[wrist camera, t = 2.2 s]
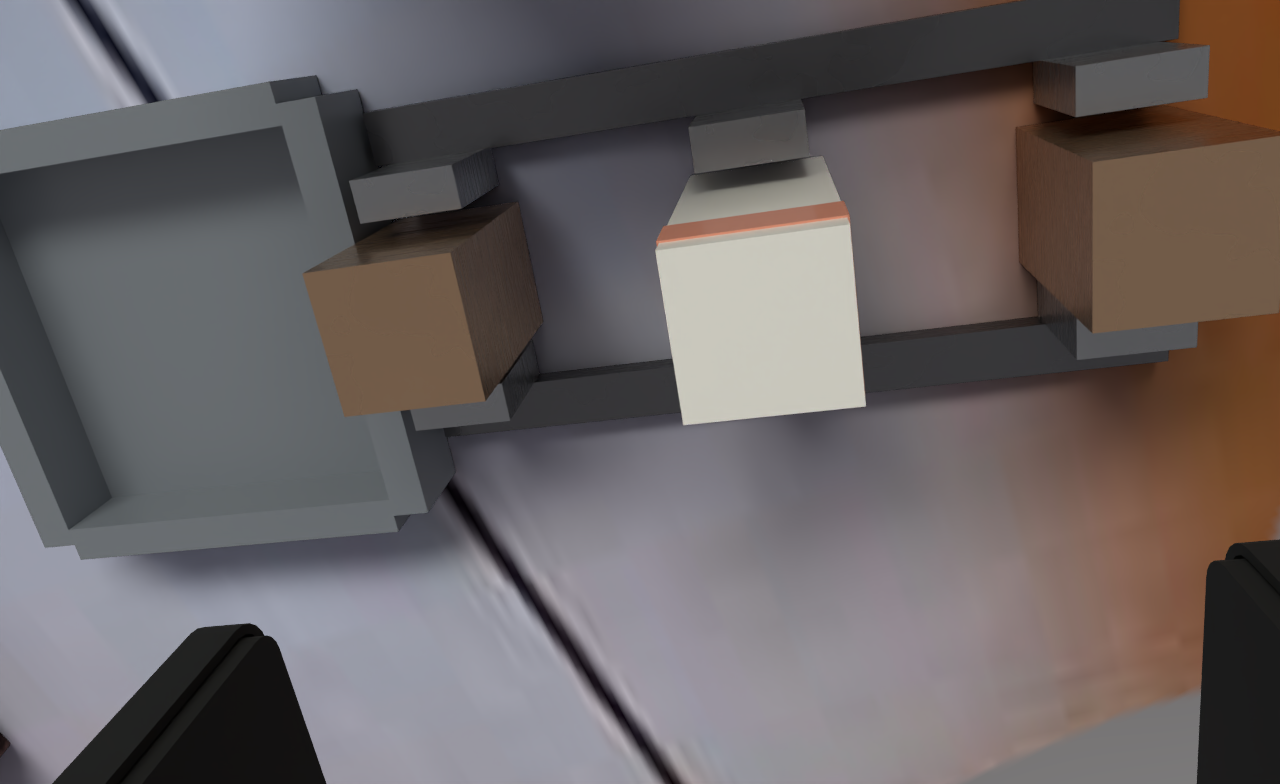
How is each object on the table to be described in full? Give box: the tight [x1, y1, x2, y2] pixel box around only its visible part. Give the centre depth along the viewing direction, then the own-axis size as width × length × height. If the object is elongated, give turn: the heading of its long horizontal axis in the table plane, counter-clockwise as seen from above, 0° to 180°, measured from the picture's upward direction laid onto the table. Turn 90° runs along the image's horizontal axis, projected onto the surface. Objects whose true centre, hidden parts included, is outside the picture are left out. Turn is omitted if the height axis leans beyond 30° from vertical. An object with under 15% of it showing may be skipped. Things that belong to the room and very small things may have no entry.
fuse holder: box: [302, 0, 1280, 437], centre depth 26 cm, size 23×11×7 cm, turn 100°
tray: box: [0, 75, 455, 560], centre depth 31 cm, size 14×14×3 cm
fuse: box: [655, 156, 866, 425], centre depth 25 cm, size 4×4×10 cm
